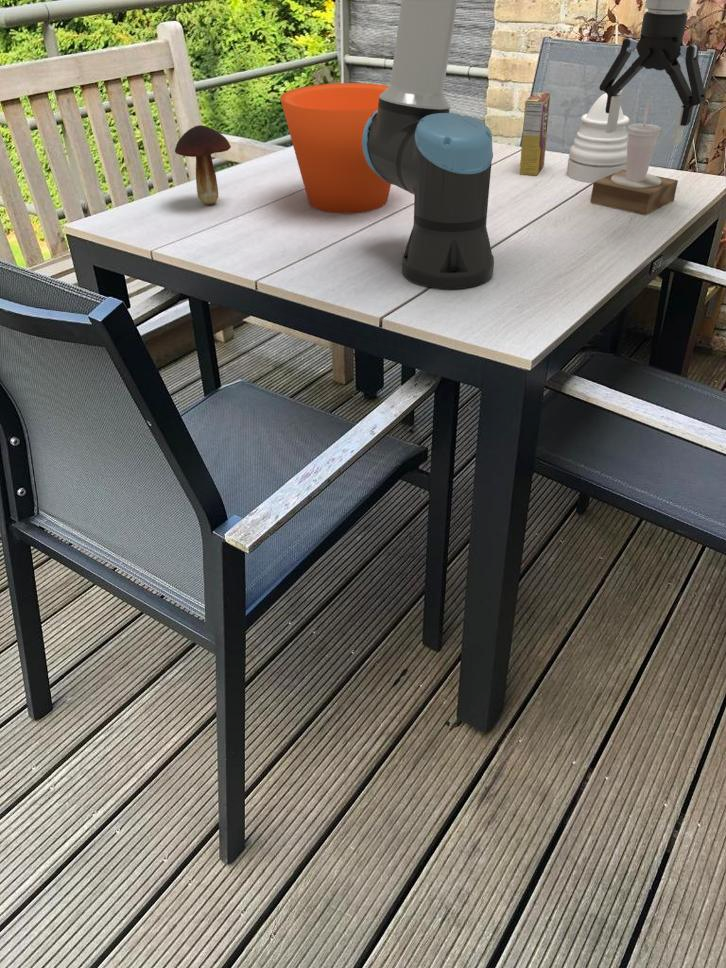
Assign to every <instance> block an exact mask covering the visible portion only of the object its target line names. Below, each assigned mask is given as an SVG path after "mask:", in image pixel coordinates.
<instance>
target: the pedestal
mask: <svg viewBox="0 0 726 968" xmlns="http://www.w3.org/2000/svg"><path fill="white" fill-rule="evenodd" d="M678 182H679V180H677V179H674V178H669V177H663V176H659V175H654V174H651V173H647V175H646V178H645V180H644V181H641V182H634V181H629V180H626V170H624V169H623V170H621V171H618V172H616V173H614V174H611V175H609V176H607V177H604V178H602V179H600V180H597V181H595V182H594V183H592V191H591V197H590V204H591V203H592V204H595V205H600V206H604V207H608V208H609V207H610V208H612V209H613V208H614V209H616V210H617V209H618V210H622V211H627V212H631V213H633V214H639V215H644V216H646V215H649V214H651V213H653V212H654V211H656V210H658V209H661V208H663V207H664V206H667V205H668V204H670V203H672V202H674V201H675V198H676V192H677V187H678ZM673 200H674V201H673ZM671 201H672V202H671ZM669 202H670V203H669Z"/></svg>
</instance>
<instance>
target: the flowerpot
mask: <svg viewBox="0 0 726 968" xmlns="http://www.w3.org/2000/svg"><path fill="white" fill-rule="evenodd" d="M389 86H390V85H385V84H377V83H366V82H365V83H364V82H363V83H361V82H359V83H358V82H346V83H345V82H343V83H342V82H341V83H335V82H334V83H324V84H323V83H322V84H314V85H307V86H301V87H298V88H294V89H290V90H287V91H285V92H283V93H282V94H280V97H279V99H280V102H281V105H282V109H283V114H284V116H285V117H284V118H285V121H286V125H287V127H288V132H289V135H290V139H291V142H292V147H293V150H294V153H295V157H296V160H297V165H298V169H299V173H300V175H301V179H302V182H303V187H304V191H305V194H306V198H307V201H308V204H309V205H310V206H311V208H314V209H315V210H319V211H323V212H327V213H333V214H359V213H366V212H370V211H375V210H377V209H380V208H382V207H384V206H385V205H387V202H388V199H389V195H390V190H391V188H392V187H391V186H392V184H390V183H388V182H386V181H384V180H383V179H382V178H381V177H379V175H377V174H376V173H375V172H374V171H373V170H372V169H371V168H370V167H369V165H368V164H367V162H366V160H365V157H364V154H363V149H362V136H363V131H364V127H365V125H366V123H367V121H368V119H369V118H371V117H372V115H373V113H374V112H375V111H376V110H378V103H379V96H380V94H381V93H382V92H384V91H385V90H386V89H387V88H388V87H389ZM383 205H384V206H383ZM374 209H375V210H374Z"/></svg>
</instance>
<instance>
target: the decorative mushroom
mask: <svg viewBox="0 0 726 968" xmlns="http://www.w3.org/2000/svg"><path fill="white" fill-rule="evenodd" d="M231 148H232V145H231V144H230V143H229V141H228V139H227V138H226V137H225V136H224V135H223V134H222V133H220V132H219V131H217V130H215V129H213V128H211V127H209V126H206V125H196V126H195V125H194V126H193V127H191V128H190V129H188V130H187V131H186V132H184V133H183V134H182V136H181V137H180V138H179V139H178V141H177V143H176V146H175V148H174V153H176V155H179V156H183V157H190V158H193V157H194V158H195V182H196V183H195V184H196V194H197V198H198V200H199V201H200V202H201V203H202V204H204V205H213V204H214V203H216V202H217V201H218V199H219V188H218V182H217V180H218V179H217V175H216V170H215V167H214V163H213V158H212V154H217V153H223V152H227V151H229V150H230V149H231Z"/></svg>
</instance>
